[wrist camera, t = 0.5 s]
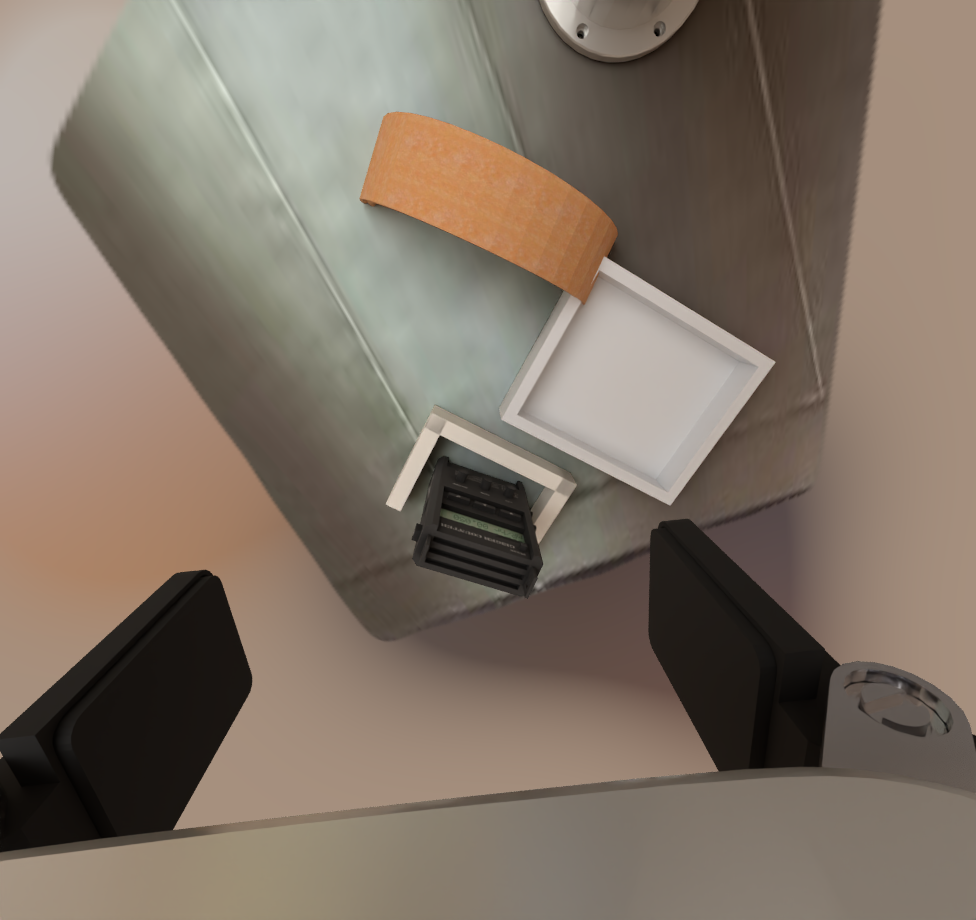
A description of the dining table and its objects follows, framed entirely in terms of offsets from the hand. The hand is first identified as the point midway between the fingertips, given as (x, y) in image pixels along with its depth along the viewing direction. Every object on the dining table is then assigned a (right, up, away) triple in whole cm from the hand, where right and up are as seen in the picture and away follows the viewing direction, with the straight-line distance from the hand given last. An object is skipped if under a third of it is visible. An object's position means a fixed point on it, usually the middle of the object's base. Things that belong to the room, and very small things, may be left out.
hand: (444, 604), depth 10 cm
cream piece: (0, +1, +36) cm, 36 cm away
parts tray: (+13, +10, +33) cm, 37 cm away
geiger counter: (0, +1, +36) cm, 36 cm away
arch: (+1, +23, +28) cm, 36 cm away
